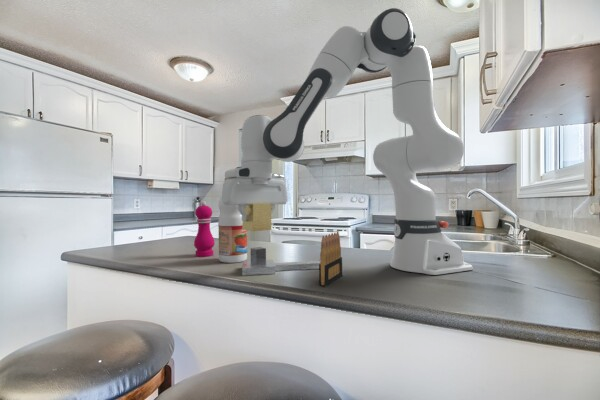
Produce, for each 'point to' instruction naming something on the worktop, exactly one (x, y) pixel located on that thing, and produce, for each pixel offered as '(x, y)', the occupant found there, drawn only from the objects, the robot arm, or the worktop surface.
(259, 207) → the tan sponge block
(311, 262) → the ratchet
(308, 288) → the worktop surface
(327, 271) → the ammunition clip
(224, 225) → the fruit juice
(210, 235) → the pepper mill
